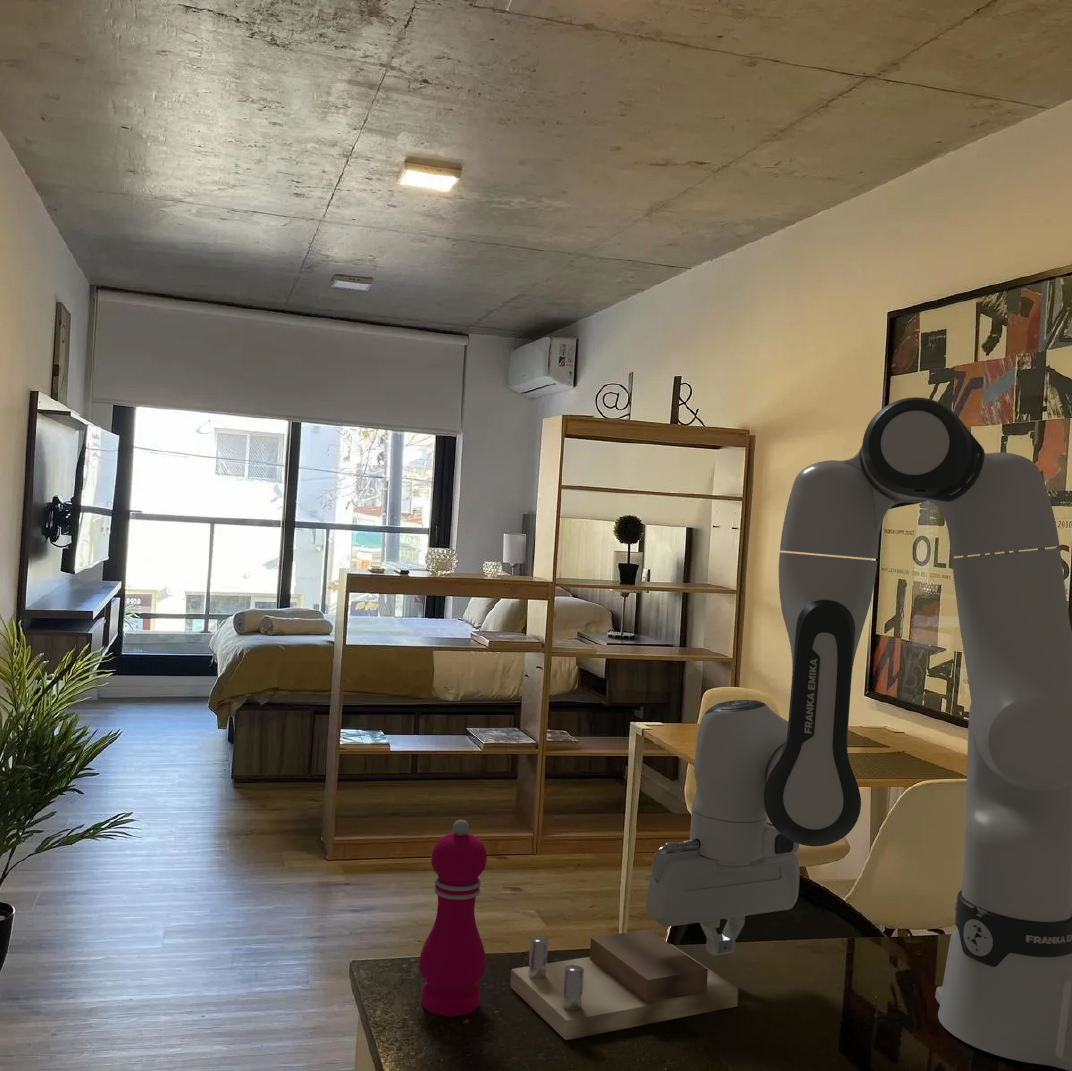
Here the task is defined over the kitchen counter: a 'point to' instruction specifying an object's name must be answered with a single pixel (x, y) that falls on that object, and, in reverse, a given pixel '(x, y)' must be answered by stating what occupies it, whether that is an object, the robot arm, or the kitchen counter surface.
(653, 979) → the walnut plate
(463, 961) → the pepper mill
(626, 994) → the board
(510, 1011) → the kitchen counter surface
